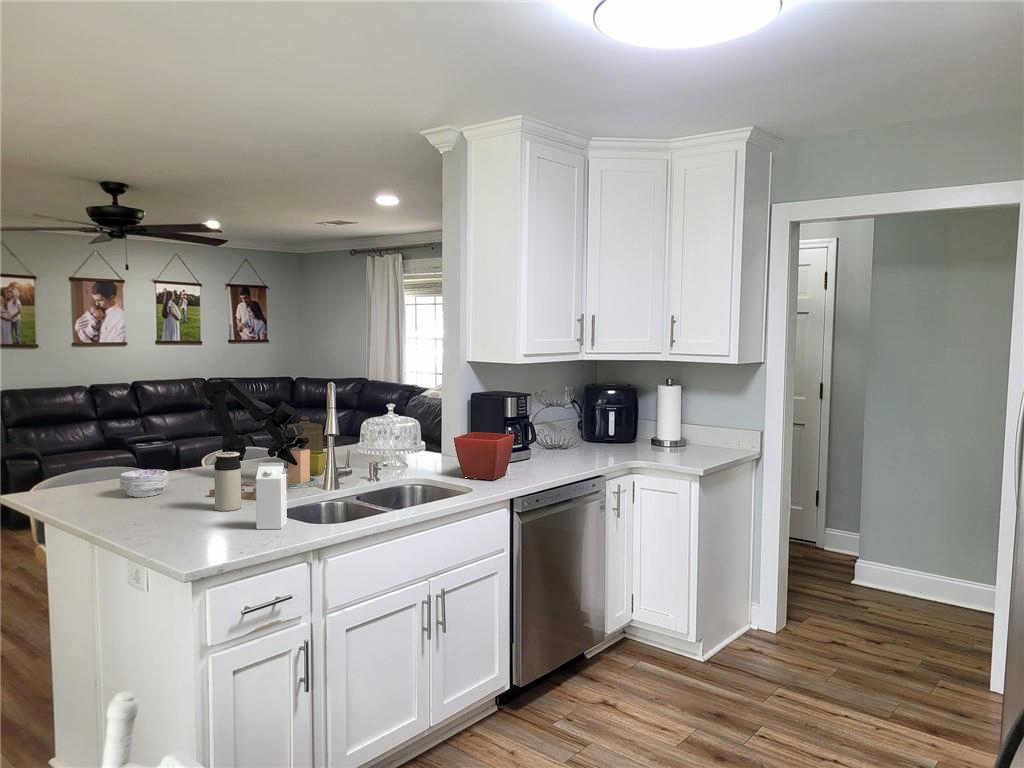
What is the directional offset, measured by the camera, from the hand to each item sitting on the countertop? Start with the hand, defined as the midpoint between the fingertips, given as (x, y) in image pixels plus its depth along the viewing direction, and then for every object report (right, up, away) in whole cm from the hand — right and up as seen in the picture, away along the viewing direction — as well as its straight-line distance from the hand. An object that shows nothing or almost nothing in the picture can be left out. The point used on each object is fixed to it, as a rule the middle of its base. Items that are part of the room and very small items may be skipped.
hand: (301, 463), depth 276 cm
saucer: (-1, -8, +1) cm, 8 cm away
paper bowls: (-50, -9, -19) cm, 54 cm away
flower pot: (-1, -7, +20) cm, 22 cm away
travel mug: (-13, -11, -38) cm, 42 cm away
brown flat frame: (-15, -9, -13) cm, 22 cm away
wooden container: (-9, -6, +37) cm, 38 cm away
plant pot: (+68, -8, +19) cm, 71 cm away
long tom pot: (-1, -7, +1) cm, 7 cm away
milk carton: (+8, -12, -59) cm, 61 cm away
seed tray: (-20, -9, -18) cm, 28 cm away
